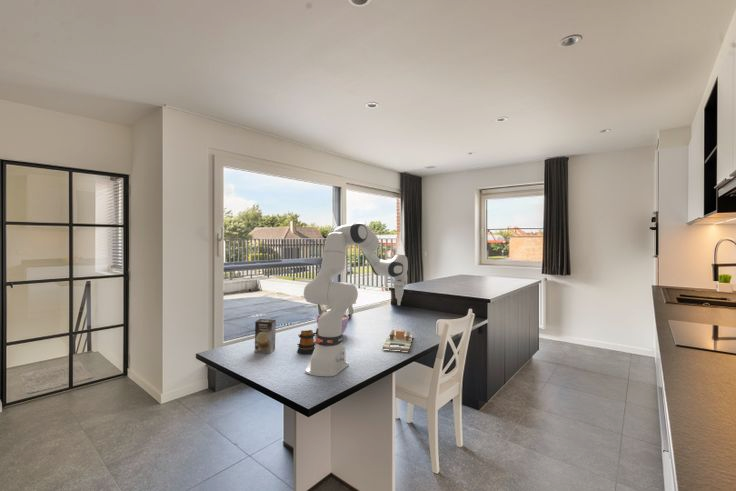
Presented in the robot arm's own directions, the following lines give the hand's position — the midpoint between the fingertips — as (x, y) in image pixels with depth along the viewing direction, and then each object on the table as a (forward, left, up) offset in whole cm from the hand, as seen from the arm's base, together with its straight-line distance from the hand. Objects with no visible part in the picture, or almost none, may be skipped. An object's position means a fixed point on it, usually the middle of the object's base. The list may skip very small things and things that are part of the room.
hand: (399, 303), depth 207 cm
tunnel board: (-14, -2, -20) cm, 25 cm away
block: (-8, -2, -18) cm, 20 cm away
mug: (-39, +43, -21) cm, 62 cm away
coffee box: (-45, +65, -21) cm, 82 cm away
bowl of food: (-9, +40, -21) cm, 46 cm away
